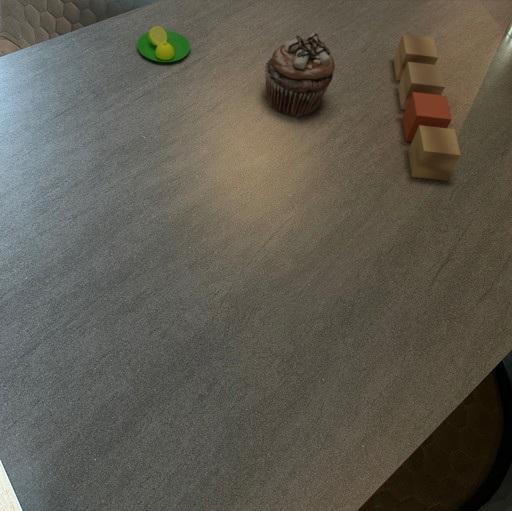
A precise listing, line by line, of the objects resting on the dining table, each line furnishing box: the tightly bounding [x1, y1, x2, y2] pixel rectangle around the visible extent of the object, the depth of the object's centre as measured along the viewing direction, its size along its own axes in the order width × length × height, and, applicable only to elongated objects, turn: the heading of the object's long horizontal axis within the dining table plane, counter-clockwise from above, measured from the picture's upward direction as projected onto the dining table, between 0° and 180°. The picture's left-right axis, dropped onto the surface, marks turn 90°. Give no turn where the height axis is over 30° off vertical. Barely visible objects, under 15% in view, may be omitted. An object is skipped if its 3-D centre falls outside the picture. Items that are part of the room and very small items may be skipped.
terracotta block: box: [401, 92, 453, 143], centre depth 90 cm, size 5×5×5 cm
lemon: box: [136, 25, 191, 63], centre depth 95 cm, size 8×8×3 cm
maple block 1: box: [392, 33, 439, 82], centre depth 98 cm, size 5×5×5 cm
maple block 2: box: [397, 62, 446, 111], centre depth 94 cm, size 5×5×5 cm
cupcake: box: [264, 32, 336, 117], centre depth 89 cm, size 10×10×10 cm
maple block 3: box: [407, 125, 461, 182], centre depth 86 cm, size 5×5×5 cm
